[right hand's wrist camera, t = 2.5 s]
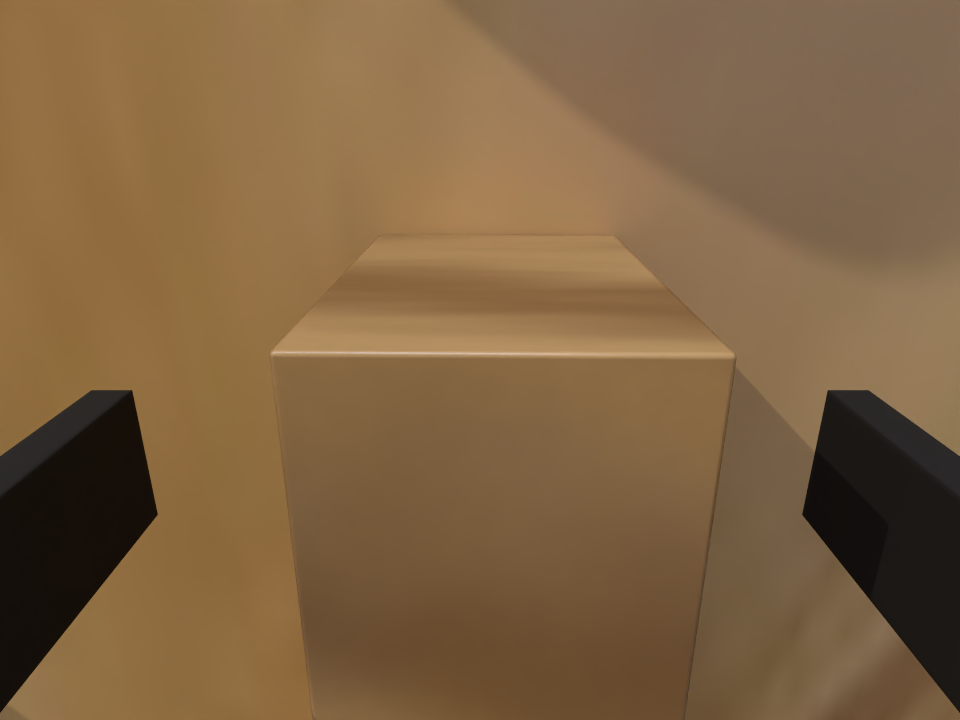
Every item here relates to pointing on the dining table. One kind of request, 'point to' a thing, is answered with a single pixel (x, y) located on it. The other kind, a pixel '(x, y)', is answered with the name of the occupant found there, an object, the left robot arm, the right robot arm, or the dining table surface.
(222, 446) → the dining table surface
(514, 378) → the block
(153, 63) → the dining table surface
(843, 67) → the dining table surface
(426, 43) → the dining table surface
